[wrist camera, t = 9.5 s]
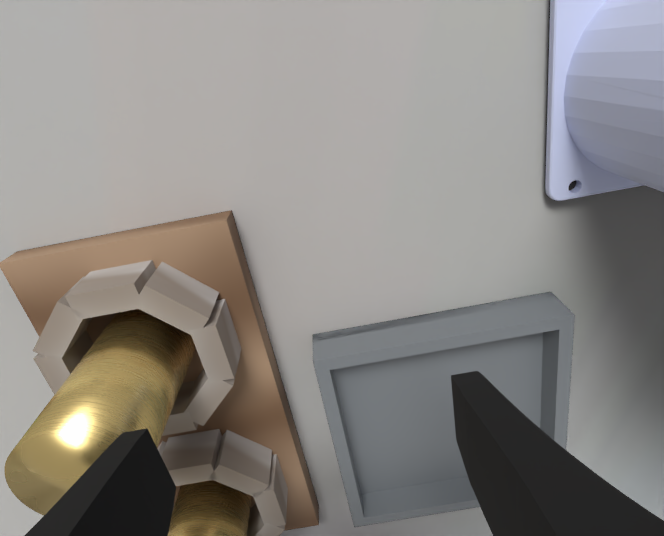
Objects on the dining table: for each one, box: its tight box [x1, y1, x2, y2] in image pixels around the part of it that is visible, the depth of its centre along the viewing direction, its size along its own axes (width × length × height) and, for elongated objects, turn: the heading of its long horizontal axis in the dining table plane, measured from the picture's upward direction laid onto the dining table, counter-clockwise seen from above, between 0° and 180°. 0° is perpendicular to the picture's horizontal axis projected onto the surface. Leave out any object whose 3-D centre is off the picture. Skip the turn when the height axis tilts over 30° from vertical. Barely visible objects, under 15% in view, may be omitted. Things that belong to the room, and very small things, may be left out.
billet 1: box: [5, 309, 196, 515], centre depth 16 cm, size 4×4×7 cm
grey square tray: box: [313, 292, 575, 527], centre depth 22 cm, size 11×11×2 cm
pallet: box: [0, 210, 319, 536], centre depth 20 cm, size 18×9×3 cm, turn 11°
